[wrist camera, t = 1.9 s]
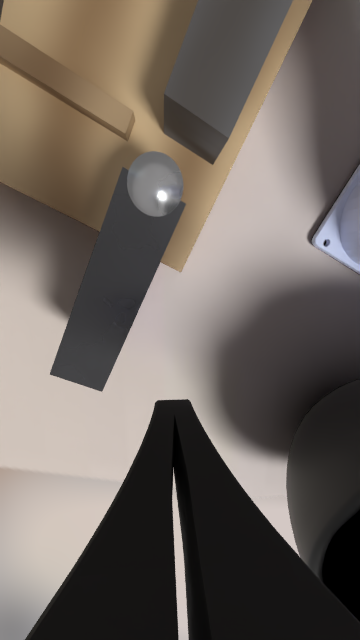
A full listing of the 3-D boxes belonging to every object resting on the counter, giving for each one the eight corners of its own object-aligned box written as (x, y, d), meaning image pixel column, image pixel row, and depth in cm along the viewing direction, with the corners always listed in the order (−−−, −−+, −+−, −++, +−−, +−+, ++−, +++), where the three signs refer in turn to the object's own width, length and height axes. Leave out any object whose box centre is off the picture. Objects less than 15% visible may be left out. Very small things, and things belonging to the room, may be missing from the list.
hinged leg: (141, 164, 11) (133, 133, 8) (190, 193, 12) (199, 175, 9) (72, 348, 14) (48, 375, 11) (113, 363, 15) (101, 392, 12)
